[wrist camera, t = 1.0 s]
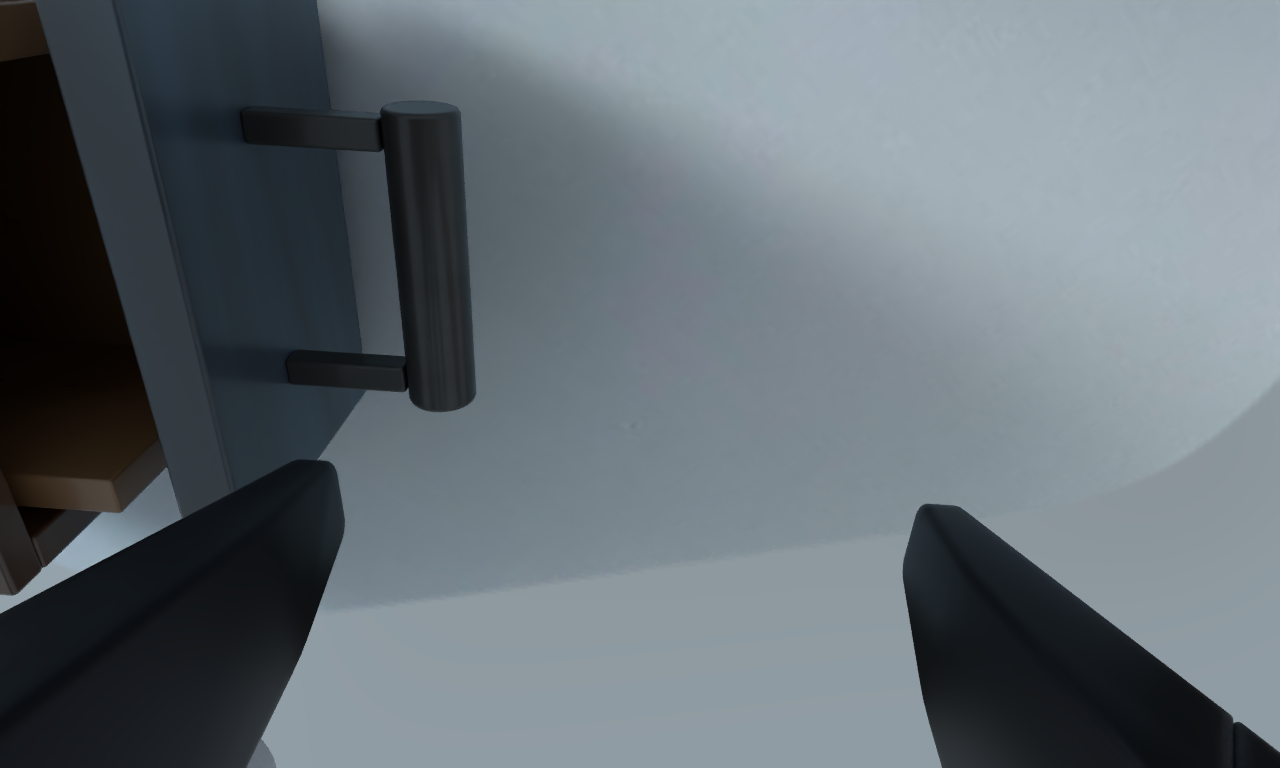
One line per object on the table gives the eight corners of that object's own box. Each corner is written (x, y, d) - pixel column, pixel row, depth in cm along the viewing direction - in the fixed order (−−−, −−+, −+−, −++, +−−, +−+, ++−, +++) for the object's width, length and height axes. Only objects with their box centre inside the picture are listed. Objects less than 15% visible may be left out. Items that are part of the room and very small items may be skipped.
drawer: (497, -35, 17) (394, -23, 11) (511, 399, 22) (446, 571, 16) (-274, -79, 17) (-790, -91, 11) (-84, 359, 22) (-369, 513, 16)
